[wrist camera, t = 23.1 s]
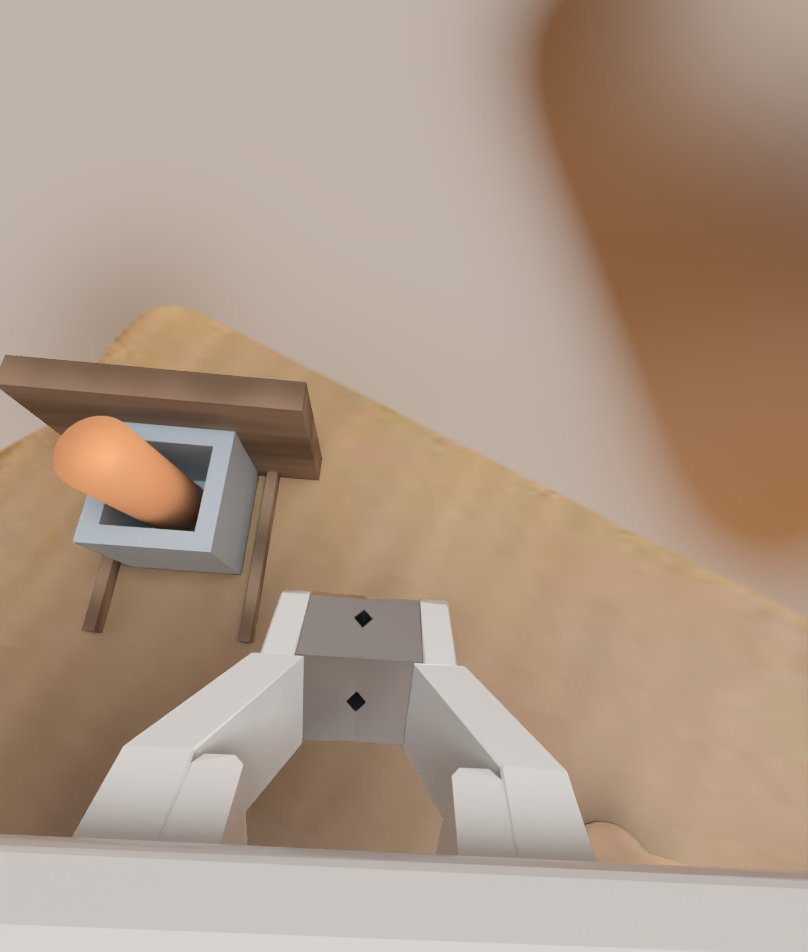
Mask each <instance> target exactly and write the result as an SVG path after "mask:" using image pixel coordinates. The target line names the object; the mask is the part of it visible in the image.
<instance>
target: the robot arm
mask: <svg viewBox="0 0 808 952" xmlns="http://www.w3.org/2000/svg"><path fill="white" fill-rule="evenodd" d="M353 738H354V740H353ZM302 740H330V741H357V742H369V743H380V744H392V745H403V749H404V751H405V753H406V754H407V756H408V758H409V760H410V761H411V763H412V765H413V767H414V768H415V770H416V772H417V774H418V775H419V777H420V779H421V781H422V782H423V784H424V786H425V788H426V789H427V791H428V793H429V795H430V796H431V798H432V800H433V802H434V803H435V805H436V807H437V808H438V810H439V812H440V814H441V815H442V817H443V821H442V826H441V831H440V836H439V841H438V846H437V851H436V854H416V853H395V852H375V851H354V850H333V849H312V848H291V847H270V846H249V845H247V826H246V811H247V810H248V808H249V807H250V806H251V805H252V804H253V802H254V801H255V800H256V799H257V797H258V796H259V795H260V794H261V793H262V791H263V790H264V789H265V788H266V787H267V785H268V784H269V783H270V782H271V780H272V779H273V778H274V777H275V776H276V774H277V773H278V772H279V771H280V770H281V768H282V767H283V766H284V765H285V764H286V762H287V761H288V760H289V759H290V757H291V756H292V755H293V754H294V753H295V751H296V750H297V749H298V748H299V747H300V745H301V744H302ZM0 952H808V872H805V871H784V870H763V869H742V868H720V867H699V866H678V865H657V864H636V863H615V862H596V859H595V856H594V853H593V850H592V847H591V844H590V841H589V838H588V835H587V832H586V829H585V826H584V822H583V819H582V816H581V813H580V810H579V807H578V804H577V801H576V798H575V795H574V792H573V789H572V786H571V782H570V779H569V776H568V773H567V771H566V770H565V769H564V768H563V767H562V766H561V765H560V764H559V763H558V762H557V761H556V760H555V759H554V758H553V757H552V756H551V755H550V754H549V752H548V751H547V750H546V749H545V748H544V747H543V746H542V745H541V744H540V743H539V742H538V741H537V740H536V739H535V738H534V737H533V736H532V735H531V734H530V733H529V732H528V731H527V730H526V729H525V728H524V727H523V726H522V725H521V724H520V722H519V721H518V720H517V719H516V718H515V717H514V716H513V715H512V714H511V713H510V712H509V711H508V710H507V709H506V708H505V707H504V706H503V705H502V704H501V703H500V702H499V701H498V700H497V699H496V698H495V697H494V696H493V695H492V694H491V693H490V691H489V690H488V689H487V688H486V687H485V686H484V685H483V684H482V683H481V682H480V681H479V680H478V679H477V678H476V677H475V676H474V675H473V674H472V673H471V672H470V671H469V670H468V669H467V668H466V667H465V666H457V663H456V656H455V649H454V642H453V635H452V628H451V622H450V615H449V608H448V603H447V602H446V601H443V600H420V599H419V600H406V599H390V598H375V597H366V596H355V595H344V594H334V593H323V592H310V591H297V590H284V591H283V592H282V593H281V595H280V598H279V600H278V603H277V606H276V609H275V612H274V615H273V618H272V620H271V623H270V626H269V629H268V632H267V635H266V637H265V640H264V643H263V646H262V649H261V652H260V653H250V654H249V655H247V656H246V657H245V658H243V659H242V660H241V661H239V662H238V663H236V664H235V665H234V666H232V667H231V668H230V669H228V670H227V671H225V672H224V673H223V674H221V675H220V676H219V677H217V678H216V679H214V680H213V681H212V682H210V683H209V684H208V685H206V686H205V687H204V688H202V689H201V690H199V691H198V692H197V693H195V694H194V695H193V696H191V697H190V698H188V699H187V700H186V701H184V702H183V703H182V704H180V705H179V706H177V707H176V708H175V709H173V710H172V711H171V712H169V713H168V714H167V715H165V716H164V717H162V718H161V719H160V720H158V721H157V722H156V723H154V724H153V725H151V726H150V727H149V728H147V729H146V730H145V731H143V732H142V733H140V734H139V735H138V736H136V737H135V738H134V739H132V740H131V741H130V742H128V743H127V744H125V745H124V746H123V748H122V750H121V751H120V753H119V755H118V757H117V758H116V760H115V762H114V764H113V765H112V767H111V769H110V771H109V772H108V774H107V776H106V778H105V780H104V781H103V783H102V785H101V787H100V788H99V790H98V792H97V794H96V795H95V797H94V799H93V801H92V802H91V804H90V806H89V808H88V809H87V811H86V813H85V815H84V817H83V818H82V820H81V822H80V824H79V825H78V827H77V829H76V831H75V832H74V834H73V836H72V837H58V836H37V835H16V834H0Z"/></svg>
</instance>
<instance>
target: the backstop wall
mask: <svg viewBox="0 0 808 952" xmlns="http://www.w3.org/2000/svg"><path fill="white" fill-rule="evenodd" d="M0 389H1V390H3V391H4V392H5V393H6V394H8V395H9V396H10V397H12V398H13V399H14V400H16V401H17V402H18V403H19V404H21V405H22V406H24V407H25V408H26V409H27V410H29V411H30V412H31V413H33V414H34V415H35V416H37V417H38V418H39V419H41V420H42V421H43V422H44V423H46V424H47V425H48V426H50V427H51V428H52V429H54V430H55V431H56V432H58V433H59V434H60V435H62V434H63V433H64V432H65V431H66V430H67V429H68V428H69V427H70V426H72V425H73V424H75V423H76V422H78V421H80V420H82V419H85V418H88V417H93V416H109V417H113V418H116V419H118V420H120V421H122V422H130V423H141V424H153V425H164V426H176V427H188V428H199V429H211V430H223V431H234V432H236V434H237V436H238V438H239V440H240V441H241V443H242V445H243V447H244V449H245V450H246V452H247V454H248V456H249V458H250V460H251V461H252V463H253V465H254V467H255V469H256V470H257V472H258V474H259V475H261V476H267V477H266V483H265V489H264V495H263V501H262V506H261V512H260V518H259V524H258V530H257V535H256V541H255V547H254V553H253V559H252V565H251V570H250V576H249V582H248V588H247V594H246V599H245V605H244V611H243V617H242V623H241V628H240V634H239V640H238V641H240V642H250V643H253V641H254V635H255V629H256V623H257V616H258V610H259V604H260V598H261V592H262V586H263V579H264V573H265V567H266V561H267V555H268V548H269V542H270V536H271V530H272V524H273V517H274V511H275V505H276V499H277V493H278V486H279V480H280V477H286V478H298V479H310V480H319V476H320V468H321V461H322V456H321V452H320V447H319V442H318V437H317V432H316V427H315V422H314V418H313V413H312V408H311V403H310V398H309V393H308V389H307V384H306V382H296V381H286V380H275V379H264V378H253V377H242V376H231V375H220V374H209V373H198V372H187V371H176V370H165V369H154V368H143V367H132V366H121V365H110V364H99V363H87V362H77V361H67V360H56V359H45V358H34V357H22V356H12V355H5V357H4V359H3V362H2V364H1V367H0ZM120 563H121V562H119V561H116V560H114V559H112V558H109V557H107V556H104V555H103V557H102V561H101V564H100V568H99V571H98V575H97V579H96V582H95V586H94V589H93V593H92V596H91V600H90V603H89V607H88V610H87V614H86V618H85V621H84V625H83V628H82V631H88V632H100V633H102V631H103V627H104V623H105V619H106V616H107V612H108V608H109V605H110V601H111V597H112V593H113V590H114V586H115V582H116V578H117V575H118V571H119V567H120Z"/></svg>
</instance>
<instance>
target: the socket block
mask: <svg viewBox="0 0 808 952" xmlns="http://www.w3.org/2000/svg"><path fill="white" fill-rule="evenodd" d="M123 423H124V424H126V425H127V426H128V427H129V428H130V429H132V430H133V431H134V432H135V433H136V434H137V435H139V436H140V437H141V438H142V439H143V440H145V441H146V442H147V443H148V444H149V445H151V446H152V447H153V448H154V449H155V450H157V451H158V452H159V453H160V454H161V455H163V456H164V457H165V458H166V459H167V460H169V461H170V462H171V463H172V464H173V465H174V466H176V467H177V468H178V469H179V470H180V471H182V472H183V473H184V474H185V475H186V476H188V477H189V478H190V479H191V480H192V481H194V482H195V483H196V484H197V485H198V486H200V487H201V488H202V489H203V490H204V491H203V496H202V500H201V505H200V510H199V514H198V519H197V523H196V528H195V532H193V531H180V530H167V529H156V528H154V527H152V526H150V525H148V524H146V523H144V522H142V521H140V520H138V519H135V518H133V517H131V516H129V515H127V514H125V513H123V512H121V511H119V510H117V509H115V508H113V507H111V506H109V505H107V504H105V503H103V502H101V501H99V500H97V499H95V498H93V497H91V496H89V495H87V497H86V500H85V503H84V506H83V510H82V513H81V516H80V519H79V523H78V526H77V529H76V532H75V536H74V539H73V542H74V543H76V544H79V545H81V546H83V547H86V548H88V549H90V550H93V551H95V552H97V553H100V554H102V555H104V556H107V557H109V558H112V559H114V560H116V561H119V562H121V563H123V564H126V565H128V566H130V567H142V568H156V569H170V570H183V571H197V572H211V573H224V574H238V575H241V571H242V566H243V560H244V554H245V549H246V543H247V538H248V532H249V526H250V521H251V515H252V510H253V504H254V498H255V493H256V487H257V481H258V476H259V474H258V472H257V470H256V469H255V467H254V465H253V463H252V461H251V460H250V458H249V456H248V454H247V452H246V450H245V449H244V447H243V445H242V443H241V441H240V440H239V438H238V436H237V434H236V432H234V431H223V430H211V429H199V428H188V427H176V426H164V425H153V424H141V423H130V422H123Z"/></svg>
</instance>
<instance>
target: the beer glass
mask: <svg viewBox="0 0 808 952" xmlns="http://www.w3.org/2000/svg"><path fill="white" fill-rule="evenodd" d="M584 826H585V829H586V832H587V835H588V838H589V841H590V844H591V847H592V850H593V853H594V856H595V859H596V862H615V863H636V864H657V865H678V866H690V865H687V864H685V863H682V862H678V861H675V860H671V859H668V858H664V857H660V856H657V855H653V854H650V853H648V852H646V851H645V849H644V848H643V847H642V846H641V845H640V844H639V842H638V841H637V840H636V839H635V838H634V837H633V836H632V835H631V834H630V833H628V832H627V831H626V830H624V829H623V828H621V827H619V826H617V825H615V824H612V823H608V822H593V823H589V824H586V825H584Z"/></svg>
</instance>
